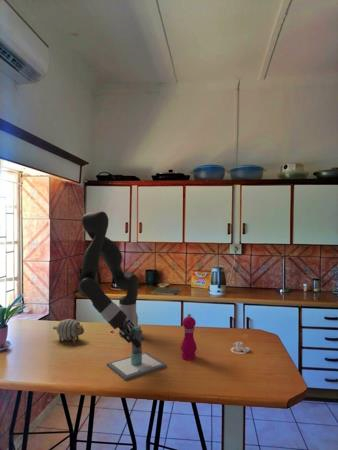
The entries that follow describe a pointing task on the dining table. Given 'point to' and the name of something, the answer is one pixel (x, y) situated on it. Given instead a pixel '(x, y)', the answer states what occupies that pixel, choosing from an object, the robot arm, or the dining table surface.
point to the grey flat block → (130, 371)
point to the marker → (136, 352)
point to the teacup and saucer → (240, 348)
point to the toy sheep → (69, 330)
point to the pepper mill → (188, 339)
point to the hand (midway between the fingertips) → (140, 343)
